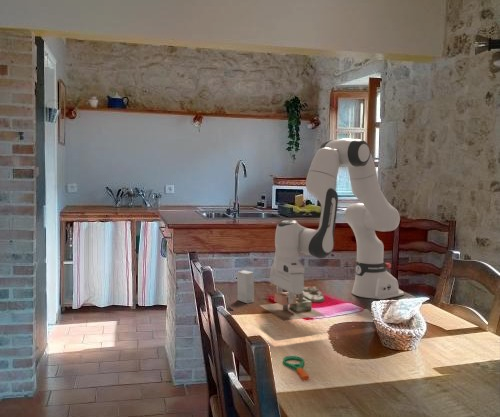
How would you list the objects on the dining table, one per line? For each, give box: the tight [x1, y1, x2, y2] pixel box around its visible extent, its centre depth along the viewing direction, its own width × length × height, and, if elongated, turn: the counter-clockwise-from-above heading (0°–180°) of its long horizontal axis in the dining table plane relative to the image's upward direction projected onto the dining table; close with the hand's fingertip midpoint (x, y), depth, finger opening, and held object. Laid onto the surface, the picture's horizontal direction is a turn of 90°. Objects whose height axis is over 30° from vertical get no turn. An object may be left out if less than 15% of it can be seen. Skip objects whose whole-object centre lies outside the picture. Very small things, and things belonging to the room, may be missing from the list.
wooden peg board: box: [259, 292, 325, 322], centre depth 199 cm, size 17×20×8 cm
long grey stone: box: [282, 286, 325, 303], centre depth 226 cm, size 35×5×10 cm
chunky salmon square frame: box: [274, 291, 296, 305], centre depth 199 cm, size 6×6×3 cm
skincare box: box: [236, 269, 255, 304], centre depth 215 cm, size 6×4×12 cm
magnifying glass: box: [282, 355, 310, 381], centre depth 149 cm, size 15×6×2 cm, turn 11°
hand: (285, 300), depth 199 cm, fingers closed on chunky salmon square frame, 6 cm apart
